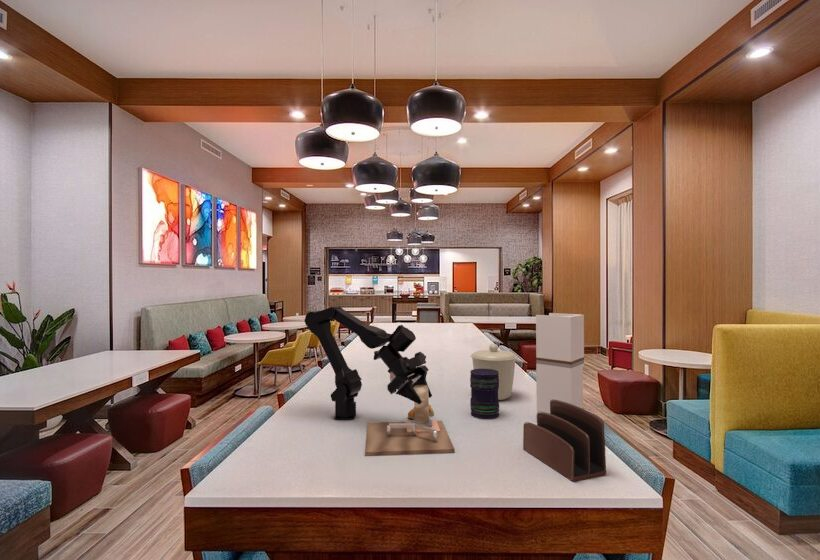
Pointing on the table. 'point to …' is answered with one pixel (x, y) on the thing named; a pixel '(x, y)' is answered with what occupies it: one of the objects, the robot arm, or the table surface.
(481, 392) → the storage jar
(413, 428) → the bent metal bar
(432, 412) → the pastry
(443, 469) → the table surface
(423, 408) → the peg
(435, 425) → the pad
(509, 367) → the canister
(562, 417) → the letter holder
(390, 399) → the table surface
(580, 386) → the grooved white pillar
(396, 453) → the board
